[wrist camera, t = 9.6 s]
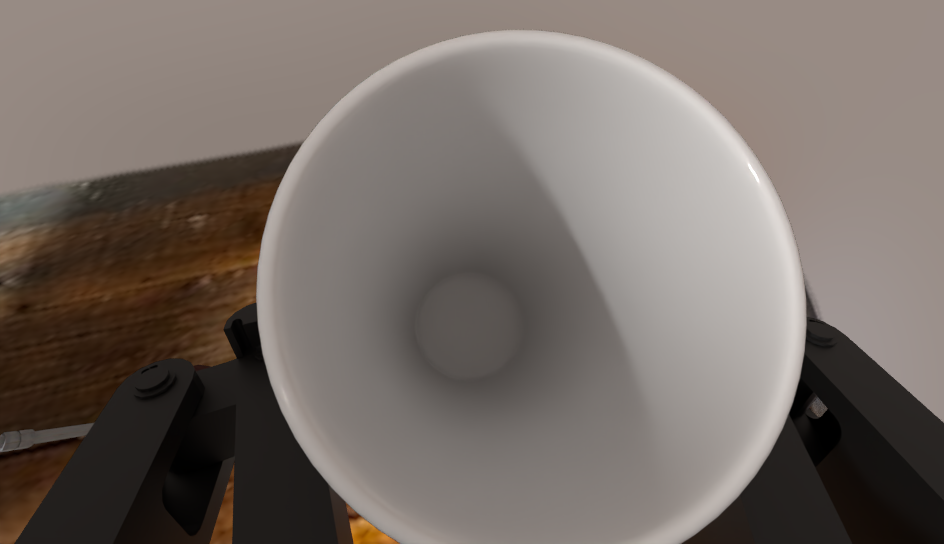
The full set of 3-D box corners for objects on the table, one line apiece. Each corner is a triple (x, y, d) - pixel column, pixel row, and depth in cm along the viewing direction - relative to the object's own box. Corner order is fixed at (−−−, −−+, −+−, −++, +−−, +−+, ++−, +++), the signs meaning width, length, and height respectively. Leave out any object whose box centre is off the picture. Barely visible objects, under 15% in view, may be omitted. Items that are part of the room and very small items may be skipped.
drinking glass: (448, 234, 20) (465, -71, 5) (560, 308, 20) (902, 202, 5) (368, 347, 19) (101, 353, 4) (486, 428, 18) (660, 750, 4)
